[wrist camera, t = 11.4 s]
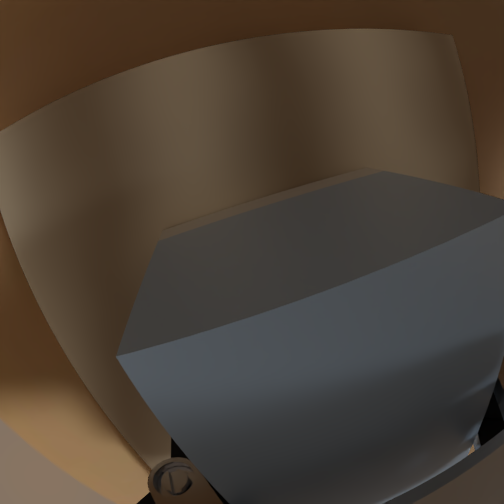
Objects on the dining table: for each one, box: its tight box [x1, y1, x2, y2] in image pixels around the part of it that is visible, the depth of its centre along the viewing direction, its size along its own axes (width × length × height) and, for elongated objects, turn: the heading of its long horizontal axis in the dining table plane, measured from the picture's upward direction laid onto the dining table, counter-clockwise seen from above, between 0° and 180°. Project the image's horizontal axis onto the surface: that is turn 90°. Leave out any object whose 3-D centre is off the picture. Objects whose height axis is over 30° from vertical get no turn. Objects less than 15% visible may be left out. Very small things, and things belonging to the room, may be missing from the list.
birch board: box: [0, 29, 480, 469], centre depth 13 cm, size 16×28×2 cm, turn 14°
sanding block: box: [116, 168, 504, 504], centre depth 8 cm, size 6×10×6 cm, turn 16°
